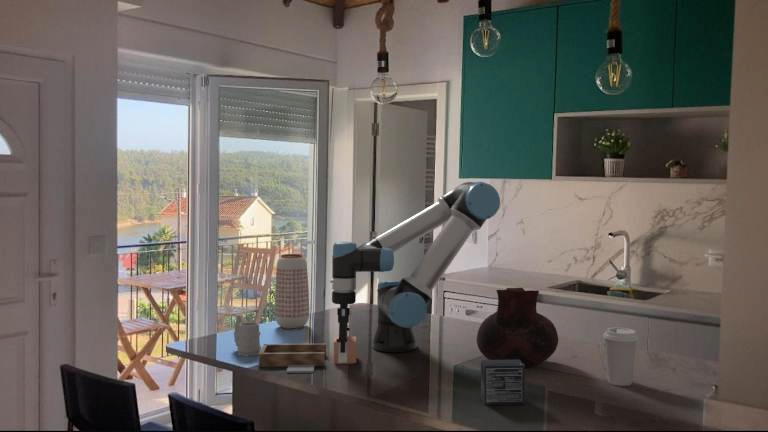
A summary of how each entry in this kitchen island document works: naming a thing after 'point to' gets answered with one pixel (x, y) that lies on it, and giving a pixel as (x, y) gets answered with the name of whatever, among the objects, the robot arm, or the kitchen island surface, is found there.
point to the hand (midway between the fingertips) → (343, 356)
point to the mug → (247, 337)
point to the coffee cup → (620, 355)
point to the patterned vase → (291, 292)
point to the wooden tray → (292, 354)
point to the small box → (502, 382)
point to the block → (350, 350)
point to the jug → (517, 330)
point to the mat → (300, 368)
